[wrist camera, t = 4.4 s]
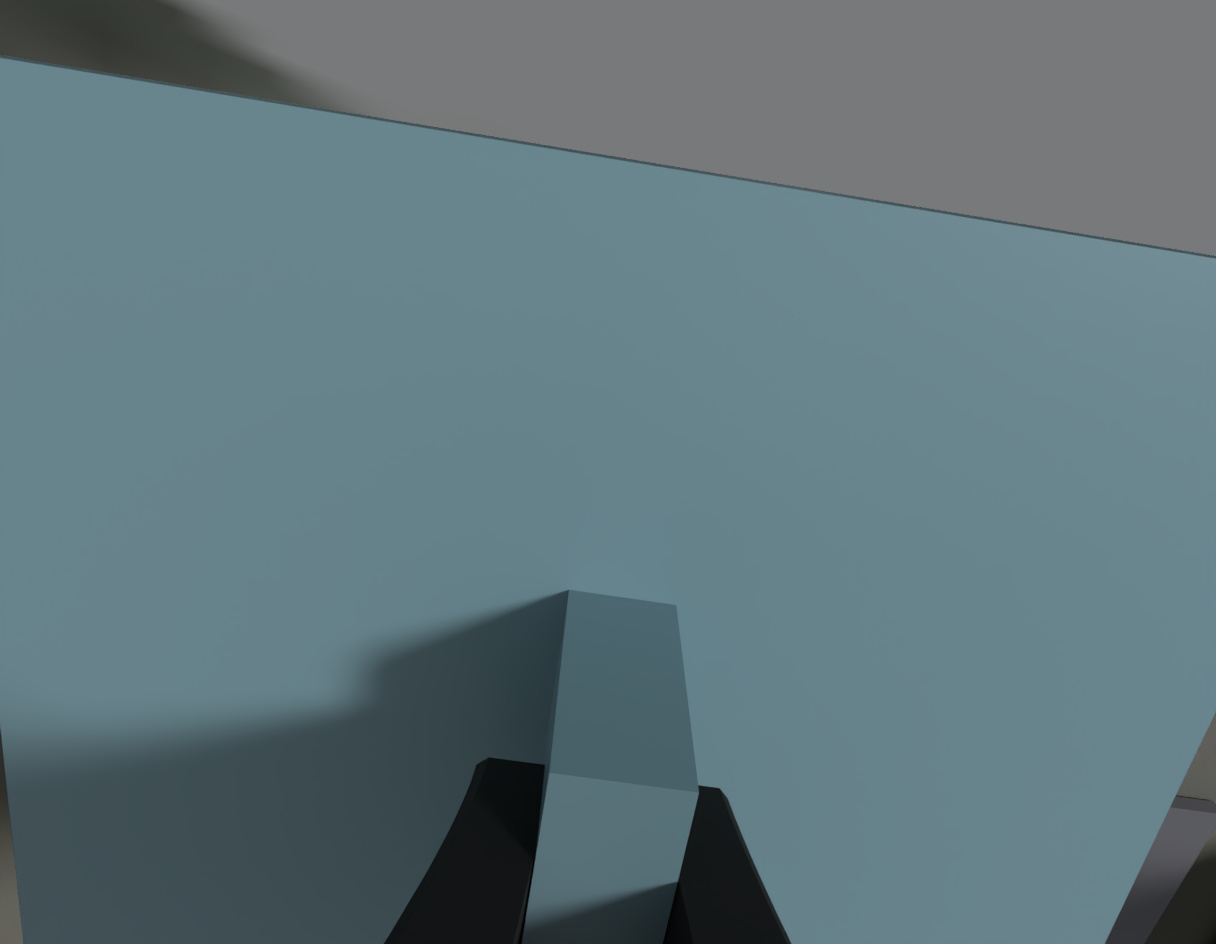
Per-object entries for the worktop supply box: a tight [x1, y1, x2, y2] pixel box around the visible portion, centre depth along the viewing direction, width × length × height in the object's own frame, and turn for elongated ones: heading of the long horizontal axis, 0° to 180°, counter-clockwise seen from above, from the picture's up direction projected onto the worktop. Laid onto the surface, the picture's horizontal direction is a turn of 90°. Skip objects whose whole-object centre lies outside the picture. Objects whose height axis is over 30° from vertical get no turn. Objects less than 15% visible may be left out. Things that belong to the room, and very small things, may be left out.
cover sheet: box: [0, 55, 1216, 944], centre depth 10 cm, size 14×14×4 cm
